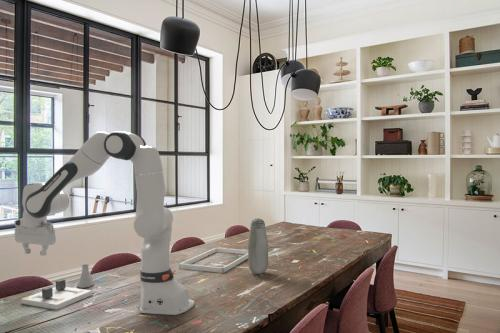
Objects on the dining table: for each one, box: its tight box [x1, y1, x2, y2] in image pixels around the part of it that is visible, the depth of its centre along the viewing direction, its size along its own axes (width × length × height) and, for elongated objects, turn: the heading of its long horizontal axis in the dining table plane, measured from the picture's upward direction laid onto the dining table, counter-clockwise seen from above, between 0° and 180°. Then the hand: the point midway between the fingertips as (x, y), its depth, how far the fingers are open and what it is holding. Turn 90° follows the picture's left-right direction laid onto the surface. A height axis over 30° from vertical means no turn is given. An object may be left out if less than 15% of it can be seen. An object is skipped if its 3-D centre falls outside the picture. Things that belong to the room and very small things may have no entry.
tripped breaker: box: [41, 286, 53, 299], centre depth 158 cm, size 2×3×4 cm
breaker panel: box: [21, 286, 93, 311], centre depth 162 cm, size 20×18×2 cm
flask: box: [77, 263, 95, 289], centre depth 180 cm, size 7×7×10 cm
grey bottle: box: [247, 217, 269, 275], centre depth 194 cm, size 10×10×28 cm
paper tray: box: [178, 247, 248, 274], centre depth 221 cm, size 27×42×2 cm, turn 157°
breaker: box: [55, 278, 67, 290], centre depth 168 cm, size 2×3×4 cm
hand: (35, 254), depth 160 cm, fingers open, 8 cm apart
